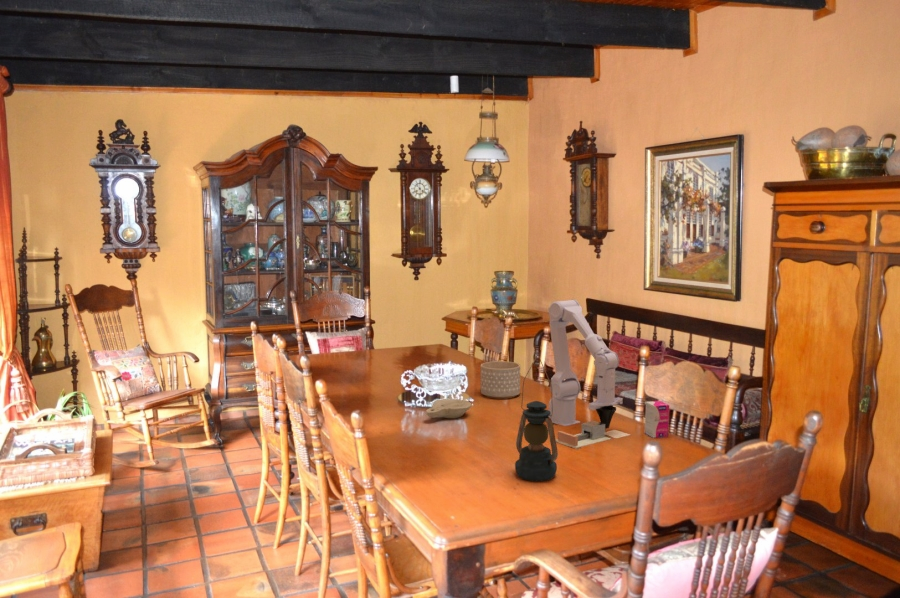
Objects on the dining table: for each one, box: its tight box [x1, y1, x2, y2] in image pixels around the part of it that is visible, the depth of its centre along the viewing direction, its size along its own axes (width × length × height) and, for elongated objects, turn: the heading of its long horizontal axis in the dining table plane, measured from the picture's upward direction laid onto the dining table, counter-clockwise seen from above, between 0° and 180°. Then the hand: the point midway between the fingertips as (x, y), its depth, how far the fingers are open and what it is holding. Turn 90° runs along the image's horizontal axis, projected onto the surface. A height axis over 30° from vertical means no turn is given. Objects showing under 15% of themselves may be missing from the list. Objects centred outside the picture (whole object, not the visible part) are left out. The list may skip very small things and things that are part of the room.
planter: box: [480, 360, 521, 400], centre depth 304 cm, size 16×16×13 cm
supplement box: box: [644, 400, 670, 439], centre depth 246 cm, size 6×6×12 cm
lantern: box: [514, 354, 559, 483], centre depth 208 cm, size 14×12×35 cm
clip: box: [580, 420, 606, 440], centre depth 244 cm, size 5×6×4 cm
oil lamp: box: [425, 398, 472, 419], centre depth 270 cm, size 21×14×5 cm
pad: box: [605, 429, 631, 439], centre depth 248 cm, size 7×7×1 cm
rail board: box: [555, 430, 612, 450], centre depth 241 cm, size 10×16×4 cm, turn 126°
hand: (605, 427), depth 247 cm, fingers closed
